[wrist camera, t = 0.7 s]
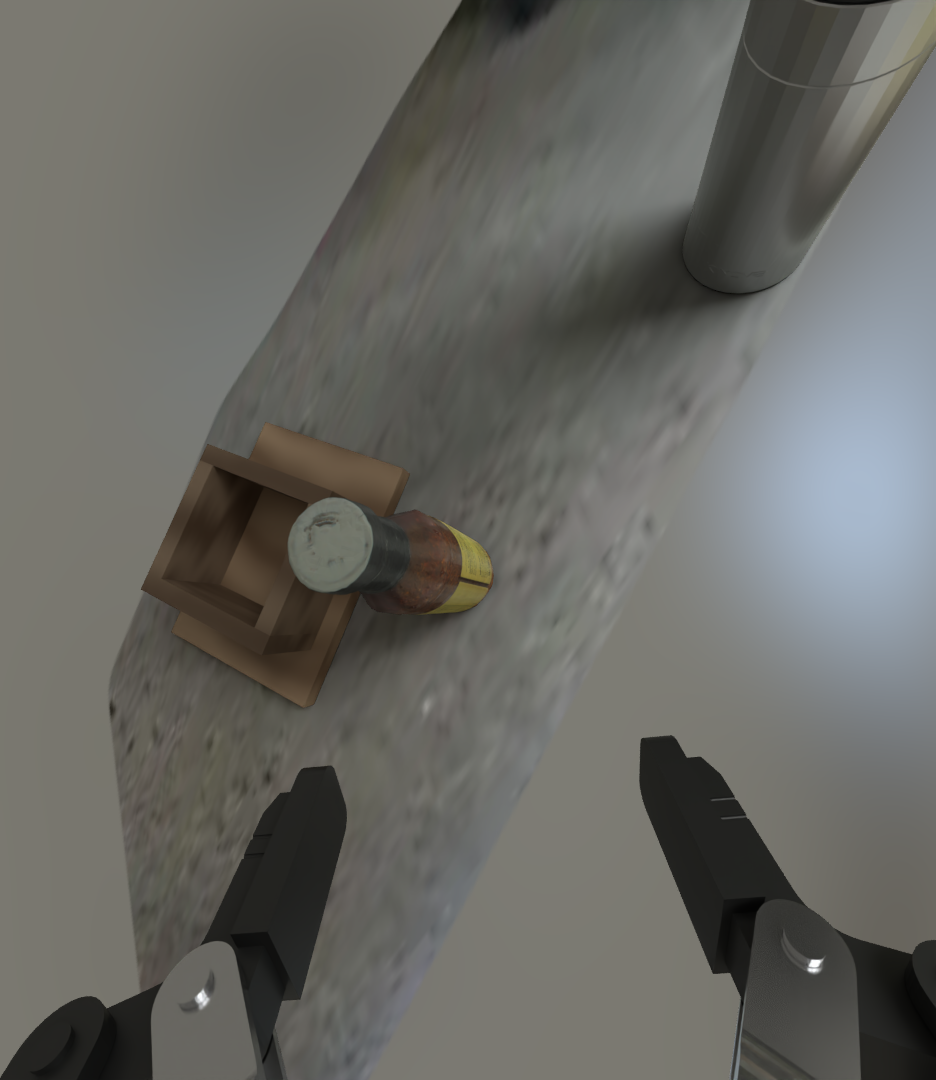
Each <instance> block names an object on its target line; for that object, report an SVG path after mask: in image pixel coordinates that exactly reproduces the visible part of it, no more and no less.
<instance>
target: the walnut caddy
mask: <svg viewBox="0 0 936 1080" xmlns="http://www.w3.org/2000/svg"><path fill="white" fill-rule="evenodd" d="M409 475H410V474H409V473H408V472H407V471H406V470H405V469H403V468H400V467H397V466H394V465H391V464H388V463H385V462H383V461H380V460H377V459H374V458H371V457H368V456H365V455H362V454H359V453H356V452H353V451H350V450H347V449H344V448H341V447H338V446H335V445H332V444H329V443H326V442H323V441H320V440H317V439H314V438H311V437H308V436H305V435H302V434H299V433H296V432H293V431H290V430H287V429H284V428H281V427H278V426H275V425H273V424H270V423H267V422H265V425H264V427H263V429H262V431H261V433H260V436H259V438H258V440H257V442H256V445H255V447H254V449H253V451H252V454H251V456H250V458H249V459H246V458H243V457H241V456H238V455H235V454H233V453H230V452H227V451H225V450H222V449H219V448H217V447H214V446H211V445H209V444H207V446H206V449H205V451H204V453H203V455H202V457H201V459H200V462H199V464H198V466H197V468H196V470H195V472H194V475H193V477H192V479H191V481H190V483H189V486H188V488H187V490H186V492H185V494H184V496H183V499H182V501H181V503H180V505H179V507H178V509H177V512H176V514H175V516H174V518H173V520H172V523H171V525H170V527H169V529H168V531H167V533H166V536H165V538H164V540H163V542H162V544H161V547H160V549H159V551H158V554H157V555H156V557H155V560H154V562H153V564H152V566H151V568H150V571H149V573H148V575H147V577H146V579H145V581H144V584H143V586H142V588H141V590H143V591H145V592H147V593H149V594H150V595H152V596H154V597H156V598H158V599H160V600H161V601H163V602H165V603H167V604H169V605H171V606H172V607H174V608H176V609H178V610H180V614H179V616H178V618H177V620H176V622H175V625H174V627H173V629H172V631H171V632H172V633H174V634H175V635H177V636H179V637H181V638H182V639H184V640H186V641H188V642H189V643H191V644H193V645H195V646H196V647H198V648H200V649H202V650H203V651H205V652H207V653H209V654H210V655H212V656H214V657H216V658H217V659H219V660H221V661H223V662H224V663H226V664H228V665H230V666H231V667H233V668H235V669H237V670H238V671H240V672H242V673H244V674H245V675H247V676H249V677H251V678H252V679H254V680H256V681H258V682H259V683H261V684H263V685H265V686H266V687H268V688H270V689H271V690H273V691H275V692H277V693H278V694H280V695H282V696H284V697H285V698H287V699H289V700H291V701H292V702H294V703H296V704H298V705H299V706H301V707H303V708H304V707H308V706H311V705H314V703H315V701H316V698H317V696H318V693H319V691H320V689H321V686H322V684H323V682H324V679H325V677H326V674H327V672H328V670H329V667H330V665H331V662H332V660H333V658H334V655H335V653H336V650H337V648H338V646H339V643H340V641H341V638H342V636H343V634H344V631H345V629H346V626H347V624H348V622H349V619H350V617H351V614H352V612H353V610H354V607H355V605H356V602H357V600H358V598H359V595H360V592H359V591H357V592H354V593H350V594H347V595H337V594H335V595H334V594H325V593H319V592H316V591H312V590H310V589H309V588H308V587H306V586H305V585H304V584H302V583H301V582H300V581H299V580H298V578H297V577H296V575H295V574H294V572H293V570H292V567H291V565H290V563H289V556H288V538H289V534H290V531H291V528H292V526H293V524H294V523H295V522H296V520H297V518H298V516H299V515H301V514H302V513H303V512H304V511H305V510H306V509H307V508H308V507H309V506H311V505H312V504H314V503H316V502H318V501H320V500H322V499H325V498H328V497H340V498H347V499H349V500H351V501H355V502H357V503H361V504H363V505H365V506H367V507H369V508H371V509H372V510H373V511H374V513H375V514H376V515H377V516H382V517H387V516H390V515H393V514H394V511H395V509H396V507H397V504H398V502H399V499H400V497H401V495H402V492H403V490H404V487H405V485H406V483H407V480H408V478H409Z"/></svg>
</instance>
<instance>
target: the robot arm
mask: <svg viewBox="0 0 936 1080" xmlns="http://www.w3.org/2000/svg"><path fill="white" fill-rule="evenodd" d="M935 47H936V0H750V4H749V8H748V11H747V15H746V19H745V23H744V27H743V30H742V34H741V38H740V41H739V45H738V48H737V52H736V55H735V59H734V63H733V66H732V70H731V73H730V77H729V81H728V84H727V88H726V91H725V95H724V99H723V102H722V106H721V109H720V113H719V116H718V120H717V124H716V127H715V131H714V134H713V138H712V142H711V145H710V149H709V152H708V156H707V160H706V163H705V167H704V170H703V174H702V177H701V181H700V185H699V188H698V192H697V195H696V198H695V202H694V205H693V209H692V213H691V216H690V220H689V223H688V227H687V231H686V234H685V238H684V243H683V258H684V262H685V264H686V267H687V269H688V271H689V272H690V273H691V274H692V276H693V277H694V278H695V279H696V280H698V281H699V282H700V283H702V284H703V285H705V286H707V287H709V288H711V289H714V290H718V291H722V292H726V293H748V292H754V291H758V290H762V289H765V288H768V287H770V286H772V285H774V284H776V283H779V282H780V281H782V280H783V279H784V278H786V277H787V276H789V275H790V274H791V273H792V272H793V271H794V270H795V269H796V268H797V267H798V266H799V264H800V263H801V261H802V260H803V258H804V257H805V255H806V253H807V252H808V250H809V249H810V247H811V245H812V244H813V242H814V241H815V239H816V237H817V236H818V234H819V233H820V231H821V230H822V228H823V226H824V225H825V223H826V222H827V220H828V219H829V217H830V216H831V214H832V212H833V211H834V209H835V208H836V206H837V204H838V203H839V201H840V200H841V198H842V196H843V195H844V193H845V192H846V190H847V188H848V187H849V185H850V184H851V182H852V180H853V179H854V177H855V176H856V174H857V172H858V171H859V169H860V168H861V166H862V164H863V163H864V161H865V159H866V158H867V156H868V155H869V153H870V151H871V150H872V148H873V147H874V145H875V143H876V142H877V140H878V138H879V137H880V135H881V134H882V132H883V130H884V129H885V127H886V126H887V124H888V122H889V121H890V119H891V118H892V116H893V115H894V113H895V111H896V110H897V108H898V106H899V105H900V103H901V102H902V100H903V98H904V97H905V95H906V94H907V92H908V90H909V89H910V87H911V86H912V84H913V82H914V81H915V79H916V77H917V76H918V74H919V73H920V71H921V70H922V68H923V66H924V64H925V63H926V62H927V60H928V58H929V57H930V55H931V53H932V52H933V50H934V49H935ZM639 781H640V790H641V795H642V799H643V802H644V805H645V808H646V811H647V813H648V816H649V818H650V821H651V823H652V825H653V828H654V830H655V833H656V835H657V838H658V840H659V843H660V845H661V848H662V850H663V852H664V855H665V857H666V860H667V862H668V865H669V867H670V870H671V872H672V875H673V877H674V879H675V882H676V884H677V887H678V889H679V892H680V894H681V897H682V899H683V902H684V904H685V906H686V909H687V911H688V914H689V916H690V919H691V921H692V924H693V926H694V928H695V931H696V933H697V936H698V938H699V941H700V943H701V946H702V948H703V951H704V953H705V955H706V958H707V960H708V963H709V965H710V967H711V970H712V973H713V974H720V973H730V974H731V976H732V978H733V980H734V983H735V985H736V987H737V990H738V992H739V994H740V996H741V997H740V1003H739V1011H738V1019H737V1026H736V1033H735V1041H734V1048H733V1056H732V1063H731V1071H730V1078H729V1080H936V940H931V941H925V942H922V943H920V944H919V945H918V946H916V948H915V950H914V952H913V954H909V953H905V952H901V951H898V950H894V949H891V948H887V947H883V946H880V945H876V944H873V943H869V942H866V941H862V940H859V939H856V938H853V937H850V936H848V935H846V934H843V933H841V932H840V931H838V930H836V929H835V928H833V927H832V926H831V925H830V924H829V923H828V922H827V921H826V920H825V919H823V918H822V917H821V916H820V915H818V914H817V913H815V912H814V911H812V910H811V909H809V908H808V907H807V906H806V905H805V904H804V903H803V902H802V901H801V899H800V898H799V897H798V896H797V894H796V893H795V891H794V890H793V888H792V887H791V885H790V884H789V882H788V880H787V879H786V877H785V876H784V874H783V872H782V871H781V869H780V868H779V866H778V864H777V863H776V861H775V860H774V858H773V856H772V855H771V853H770V852H769V850H768V849H767V847H766V845H765V844H764V842H763V841H762V839H761V837H760V836H759V834H758V833H757V831H756V829H755V828H754V826H753V825H752V823H751V822H750V820H749V819H747V817H746V814H745V812H744V810H743V809H742V807H741V806H740V804H739V802H738V801H737V800H735V797H734V795H733V793H732V791H731V790H730V788H729V787H728V785H727V783H726V782H725V780H724V779H723V777H722V776H721V774H720V773H719V772H717V771H716V770H715V769H714V768H713V767H712V766H711V765H709V764H708V763H707V762H706V761H705V760H704V759H703V758H701V757H691V758H687V757H686V756H685V754H684V752H683V750H682V749H681V747H680V745H679V743H678V742H677V740H676V739H675V738H674V737H673V736H672V735H670V736H659V737H649V738H642V739H641V744H640V780H639ZM346 822H347V811H346V805H345V801H344V798H343V795H342V792H341V789H340V786H339V782H338V779H337V776H336V773H335V770H334V768H333V767H332V766H321V767H310V768H303V769H301V770H300V772H299V773H298V775H297V778H296V780H295V782H294V785H293V787H292V789H291V792H287V793H280V794H279V795H278V796H277V798H276V799H275V800H274V801H273V802H272V803H271V805H270V806H269V807H268V808H267V809H266V811H265V812H264V813H263V815H262V817H261V819H260V821H259V824H258V826H257V828H256V830H255V832H254V834H253V839H252V840H251V841H250V843H249V845H248V847H247V849H246V852H245V854H244V859H242V860H241V862H240V865H239V867H238V869H237V871H236V873H235V875H234V877H233V880H232V882H231V884H230V886H229V888H228V890H227V892H226V895H225V897H224V899H223V901H222V903H221V905H220V908H219V910H218V912H217V914H216V916H215V918H214V920H213V923H212V925H211V927H210V929H209V931H208V933H207V935H206V937H205V939H204V941H203V942H202V944H201V945H200V946H199V947H197V948H196V949H194V950H193V951H191V952H190V953H189V954H188V955H186V956H185V957H184V958H183V959H182V960H181V961H180V962H179V963H178V964H177V965H176V966H175V967H174V968H173V970H172V971H171V972H170V973H169V975H168V976H167V978H166V979H165V981H164V982H162V983H161V984H159V985H157V986H155V987H153V988H151V989H149V990H146V991H144V992H142V993H140V994H138V995H136V996H133V997H132V998H129V999H127V1000H124V1001H122V1002H120V1003H118V1004H116V1005H114V1006H111V1007H109V1008H107V1009H106V1007H105V1006H104V1005H103V1004H102V1002H101V1001H100V1000H98V999H97V998H96V997H92V996H89V997H88V996H87V997H81V998H78V999H75V1000H73V1001H71V1002H69V1003H67V1004H65V1005H64V1006H62V1007H60V1008H59V1009H58V1010H56V1011H55V1012H53V1013H52V1014H51V1015H50V1016H49V1017H48V1018H46V1019H45V1020H44V1021H43V1022H42V1023H41V1024H40V1025H39V1026H38V1027H37V1028H36V1029H35V1030H34V1031H33V1032H32V1033H31V1034H30V1035H29V1037H28V1038H27V1039H26V1040H25V1042H24V1043H23V1044H22V1045H21V1047H20V1048H19V1050H18V1051H17V1053H16V1054H15V1056H14V1057H13V1058H12V1060H11V1062H10V1063H9V1065H8V1067H7V1068H6V1070H5V1071H4V1073H3V1074H2V1076H1V1078H0V1080H288V1079H287V1075H286V1070H285V1066H284V1062H283V1058H282V1053H281V1049H280V1045H279V1041H278V1036H277V1032H276V1029H275V1023H276V1019H277V1016H278V1013H279V1009H280V1006H281V1002H282V1001H285V1000H300V999H301V995H302V991H303V987H304V984H305V980H306V976H307V972H308V969H309V965H310V961H311V958H312V954H313V950H314V946H315V943H316V939H317V935H318V931H319V928H320V924H321V920H322V916H323V913H324V909H325V905H326V902H327V898H328V894H329V890H330V887H331V883H332V879H333V875H334V872H335V868H336V864H337V860H338V857H339V853H340V849H341V846H342V842H343V838H344V834H345V830H346Z"/></svg>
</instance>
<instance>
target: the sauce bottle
mask: <svg viewBox="0 0 936 1080" xmlns="http://www.w3.org/2000/svg"><path fill="white" fill-rule="evenodd" d="M288 556H289V563H290V565H291V567H292V570H293V572H294V574H295V575H296V577H297V578H298V580H299V581H300V582H301V583H302V584H304V585H305V586H306V587H308V588H309V589H310V590H312V591H316V592H319V593H325V594H334V595H335V594H337V595H347V594H350V593H354V592H357V591H359V592H360V593H361V594H362V595H363V597H364V598H365V600H366V602H367V604H368V605H369V606H370V607H371V608H372V609H374V610H375V611H377V612H384V613H392V614H398V615H401V614H409V615H420V614H434V613H450V612H460V611H464V610H467V609H469V608H472V607H475V606H476V605H477V604H478V603H479V602H480V601H481V600H483V598H484V597H485V596H486V594H487V593H488V591H489V589H490V588H491V586H492V583H493V576H494V575H493V568H492V564H491V560H490V557H489V555H488V553H487V552H486V551H485V550H484V549H483V548H482V546H481V545H480V544H479V543H477V542H476V541H475V540H473V539H471V538H469V537H468V536H466V535H464V534H463V533H461V532H459V531H458V530H456V529H454V528H452V527H451V526H449V525H447V524H445V523H443V522H441V521H440V520H438V519H436V518H433V517H431V516H427V515H426V514H423V513H421V512H420V511H417V510H412V511H407V512H403V513H399V514H394V515H390V516H387V517H382V516H377V515H376V514H375V513H374V511H373V510H372V509H371V508H369V507H367V506H365V505H363V504H361V503H357V502H355V501H351V500H349V499H347V498H340V497H328V498H325V499H322V500H320V501H318V502H316V503H314V504H312V505H311V506H309V507H308V508H307V509H306V510H305V511H304V512H303V513H302V514H301V515H299V516H298V518H297V520H296V522H295V523H294V524H293V526H292V528H291V531H290V534H289V538H288Z"/></svg>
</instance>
